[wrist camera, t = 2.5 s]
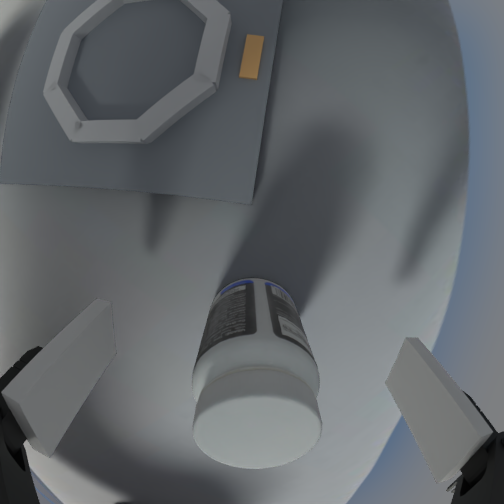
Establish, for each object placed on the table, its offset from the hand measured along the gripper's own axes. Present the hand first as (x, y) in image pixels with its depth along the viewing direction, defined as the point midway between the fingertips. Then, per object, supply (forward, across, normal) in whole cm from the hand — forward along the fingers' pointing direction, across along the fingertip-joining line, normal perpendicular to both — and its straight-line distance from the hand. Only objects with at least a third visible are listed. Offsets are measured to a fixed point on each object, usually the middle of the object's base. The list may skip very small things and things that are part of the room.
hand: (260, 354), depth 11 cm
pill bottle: (+4, 0, 0) cm, 4 cm away
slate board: (+4, +9, -13) cm, 16 cm away
